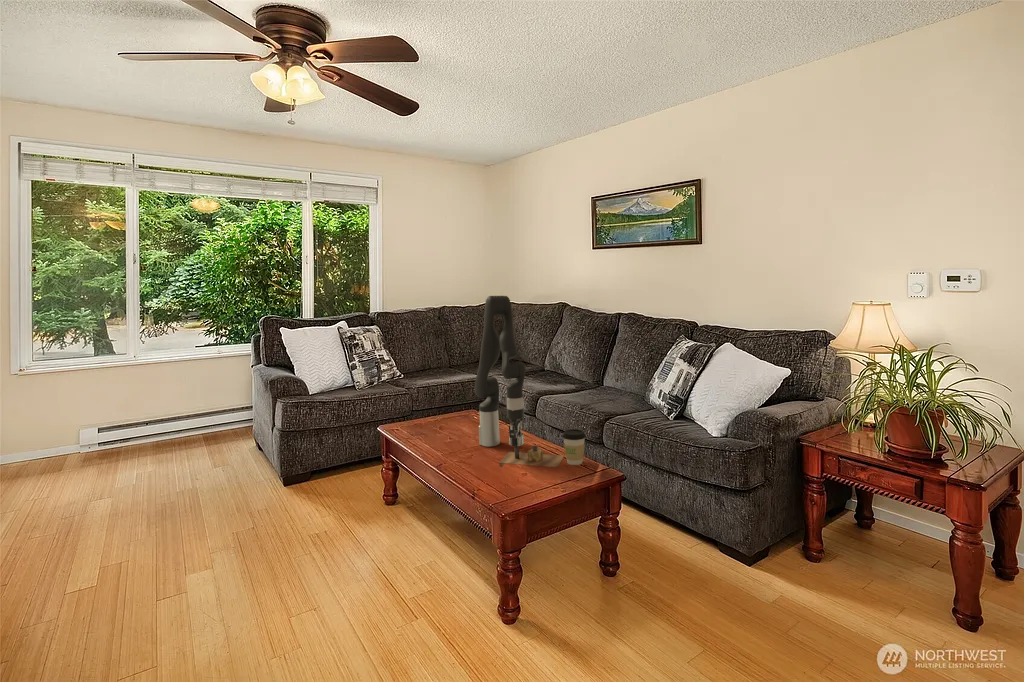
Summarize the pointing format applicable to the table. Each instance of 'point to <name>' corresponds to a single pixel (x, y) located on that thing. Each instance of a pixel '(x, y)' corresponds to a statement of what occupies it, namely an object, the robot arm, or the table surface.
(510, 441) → the steel gear
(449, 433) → the table surface
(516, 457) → the gear board
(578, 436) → the coffee cup
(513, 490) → the table surface
